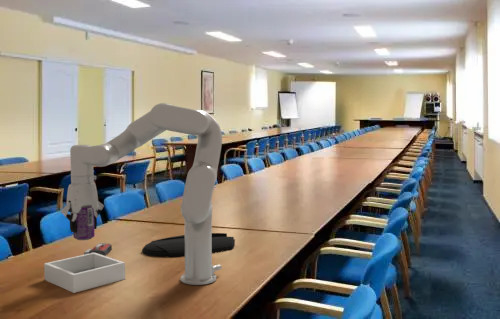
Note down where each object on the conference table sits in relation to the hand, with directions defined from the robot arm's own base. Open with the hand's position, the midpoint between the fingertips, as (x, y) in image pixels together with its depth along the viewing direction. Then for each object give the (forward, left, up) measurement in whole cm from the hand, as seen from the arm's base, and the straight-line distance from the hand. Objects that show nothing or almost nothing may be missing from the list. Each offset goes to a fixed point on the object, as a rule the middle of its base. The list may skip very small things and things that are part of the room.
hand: (83, 229), depth 189 cm
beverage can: (0, 0, -3) cm, 3 cm away
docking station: (-54, -6, -19) cm, 57 cm away
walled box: (0, 0, -18) cm, 18 cm away
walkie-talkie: (-20, -26, -19) cm, 38 cm away
